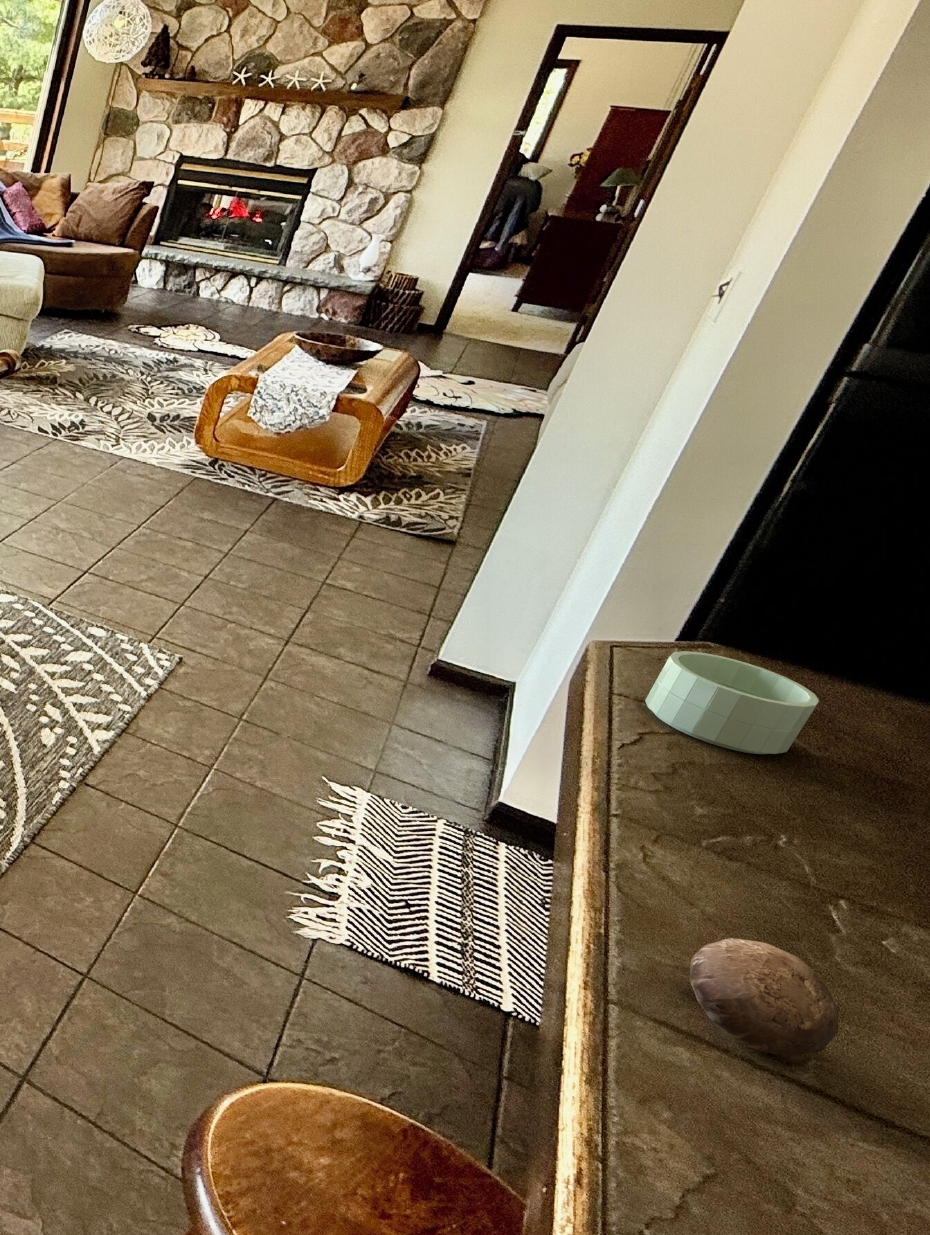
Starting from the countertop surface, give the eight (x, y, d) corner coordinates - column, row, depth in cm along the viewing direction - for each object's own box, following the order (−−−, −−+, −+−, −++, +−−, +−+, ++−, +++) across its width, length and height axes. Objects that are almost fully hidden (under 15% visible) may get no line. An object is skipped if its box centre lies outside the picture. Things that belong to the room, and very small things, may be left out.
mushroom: (669, 920, 78) (752, 905, 73) (783, 999, 76) (878, 990, 70) (636, 1003, 76) (720, 994, 70) (754, 1088, 73) (850, 1085, 68)
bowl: (713, 704, 119) (741, 655, 117) (817, 762, 109) (851, 710, 106) (615, 696, 119) (642, 647, 116) (711, 754, 109) (742, 701, 106)
